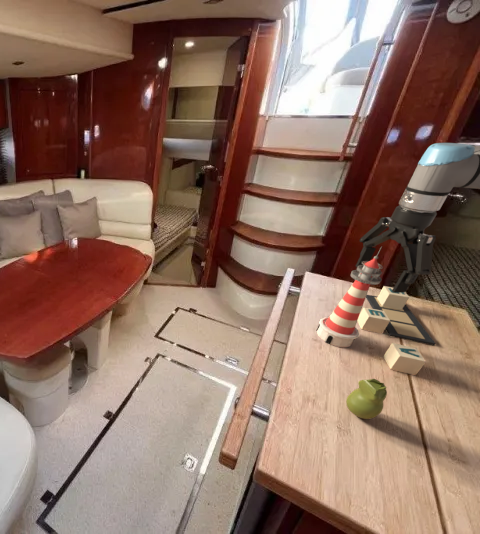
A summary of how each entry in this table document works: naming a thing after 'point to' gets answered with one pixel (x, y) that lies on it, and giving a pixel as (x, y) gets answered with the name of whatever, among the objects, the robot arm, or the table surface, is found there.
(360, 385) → the green rounded piece
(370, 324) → the letter E
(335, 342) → the miniature lighthouse
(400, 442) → the table surface
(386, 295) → the letter S
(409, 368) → the cream letter cube
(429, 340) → the word mat
